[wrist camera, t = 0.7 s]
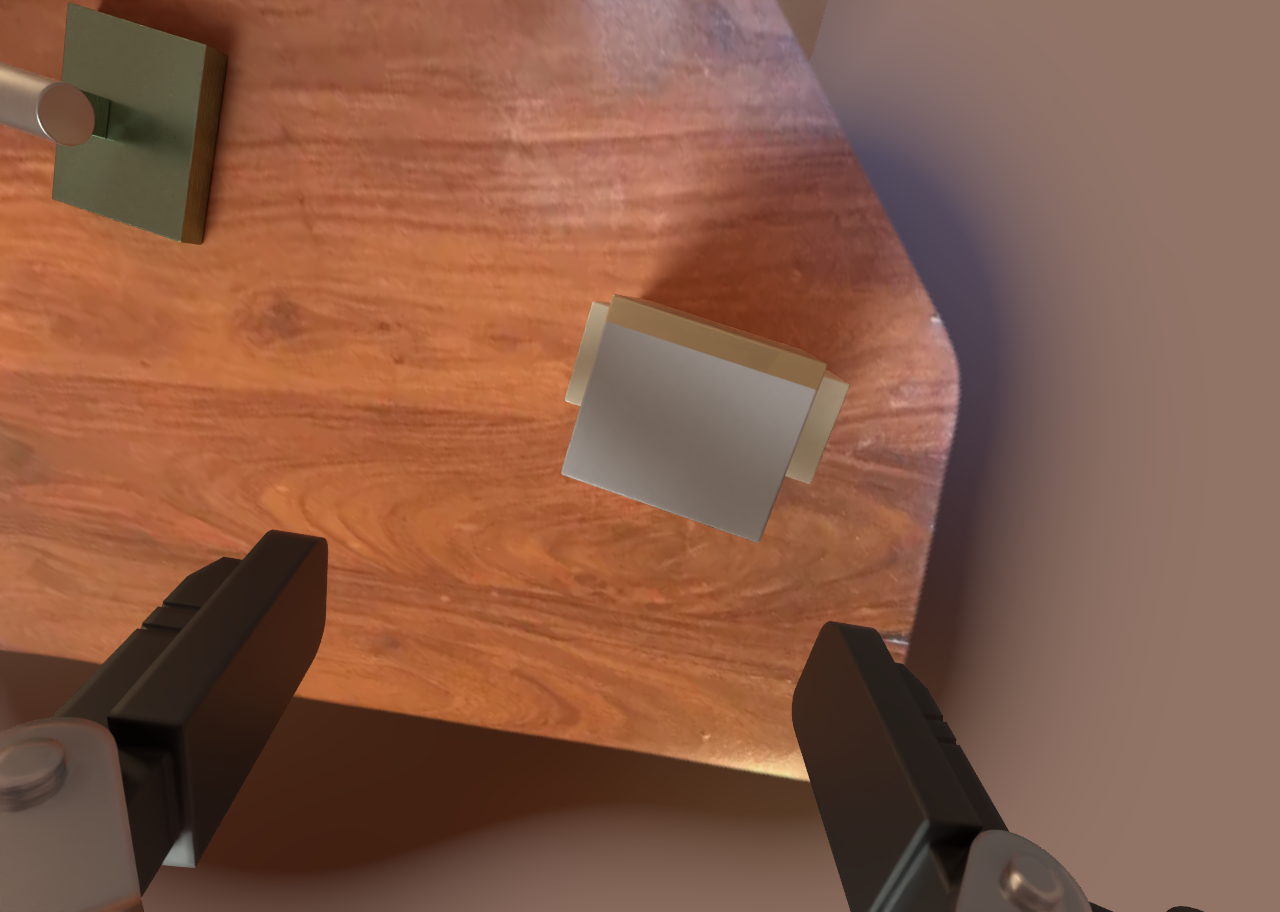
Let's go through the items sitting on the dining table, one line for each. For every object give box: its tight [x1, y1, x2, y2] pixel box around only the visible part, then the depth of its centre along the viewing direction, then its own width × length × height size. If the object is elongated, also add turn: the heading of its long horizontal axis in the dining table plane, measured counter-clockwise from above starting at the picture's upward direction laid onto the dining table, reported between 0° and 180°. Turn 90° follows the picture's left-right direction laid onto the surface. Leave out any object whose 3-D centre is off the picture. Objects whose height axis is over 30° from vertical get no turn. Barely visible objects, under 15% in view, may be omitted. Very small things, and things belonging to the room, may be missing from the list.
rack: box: [0, 2, 227, 245], centre depth 26 cm, size 10×19×20 cm, turn 72°
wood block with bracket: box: [561, 295, 850, 542], centre depth 26 cm, size 5×10×17 cm, turn 73°
